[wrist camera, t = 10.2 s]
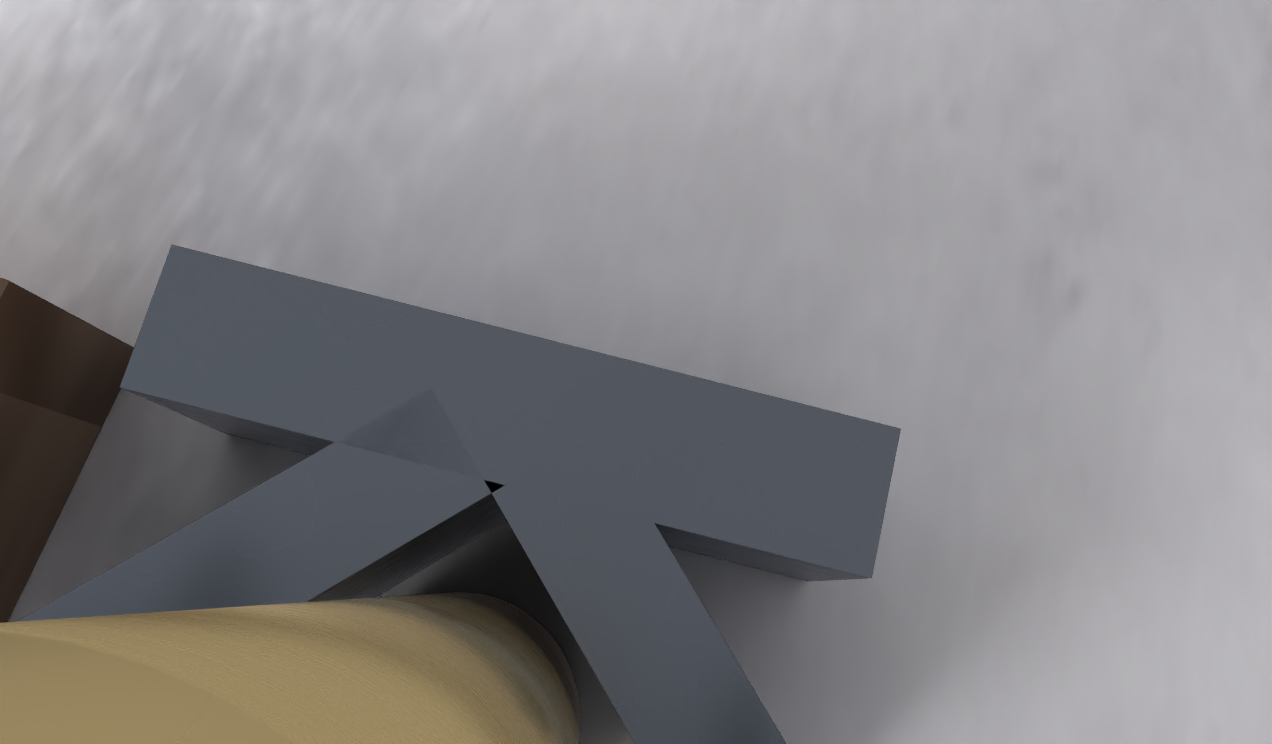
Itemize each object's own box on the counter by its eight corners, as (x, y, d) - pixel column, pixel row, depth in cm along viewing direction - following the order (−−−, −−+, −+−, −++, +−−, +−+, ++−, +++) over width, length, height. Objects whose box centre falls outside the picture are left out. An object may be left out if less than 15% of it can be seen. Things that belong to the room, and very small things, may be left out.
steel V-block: (786, 887, 16) (849, 980, 12) (88, 708, 16) (-70, 744, 12) (869, 474, 18) (948, 440, 14) (226, 311, 18) (124, 232, 14)
